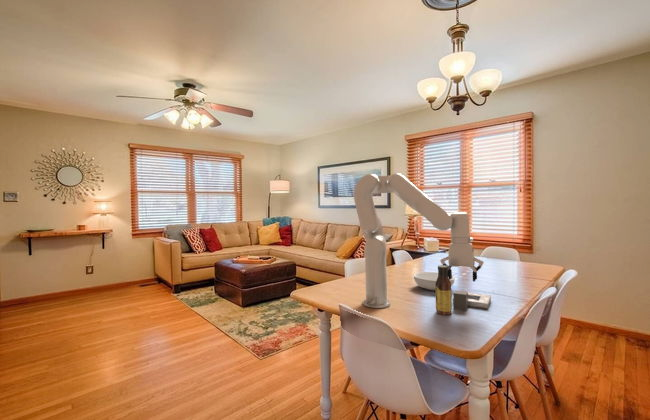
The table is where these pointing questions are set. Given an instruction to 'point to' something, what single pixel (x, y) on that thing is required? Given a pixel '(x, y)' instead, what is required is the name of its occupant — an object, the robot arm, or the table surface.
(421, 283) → the serving bowl
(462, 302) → the plug
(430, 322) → the table surface
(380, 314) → the table surface
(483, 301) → the socket plate
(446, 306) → the sauce bottle
